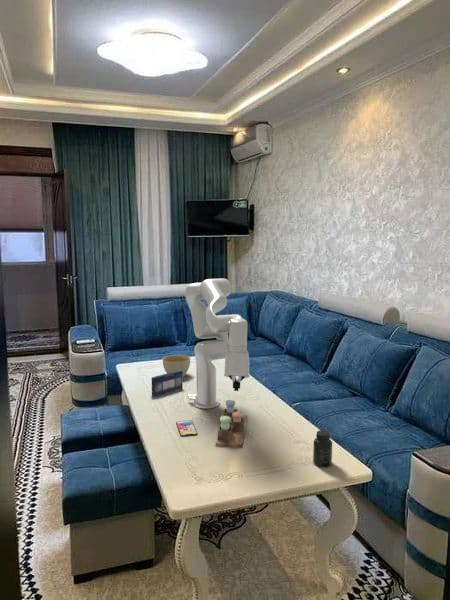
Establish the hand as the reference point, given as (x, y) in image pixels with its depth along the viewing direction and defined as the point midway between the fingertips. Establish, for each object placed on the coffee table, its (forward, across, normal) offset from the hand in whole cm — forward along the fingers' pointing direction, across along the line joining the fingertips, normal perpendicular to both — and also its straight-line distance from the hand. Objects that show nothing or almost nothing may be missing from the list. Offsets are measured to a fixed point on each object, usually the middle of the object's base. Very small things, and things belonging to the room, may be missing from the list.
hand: (236, 389), depth 203 cm
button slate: (+15, -3, +8) cm, 17 cm away
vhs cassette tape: (+21, -40, +41) cm, 61 cm away
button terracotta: (+16, +1, -1) cm, 16 cm away
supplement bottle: (+17, +35, -24) cm, 46 cm away
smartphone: (+19, -21, -2) cm, 29 cm away
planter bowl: (+22, -41, +67) cm, 82 cm away
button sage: (+14, -3, -10) cm, 18 cm away
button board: (+18, -1, -2) cm, 18 cm away
